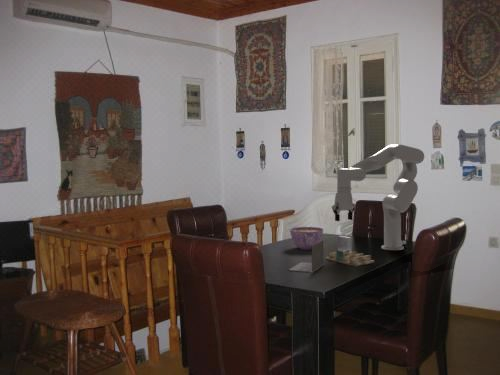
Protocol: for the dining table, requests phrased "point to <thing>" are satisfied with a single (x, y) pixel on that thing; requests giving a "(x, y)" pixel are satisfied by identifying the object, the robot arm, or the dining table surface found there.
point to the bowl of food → (306, 237)
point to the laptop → (316, 260)
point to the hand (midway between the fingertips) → (343, 220)
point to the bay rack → (350, 258)
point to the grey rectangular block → (344, 243)
